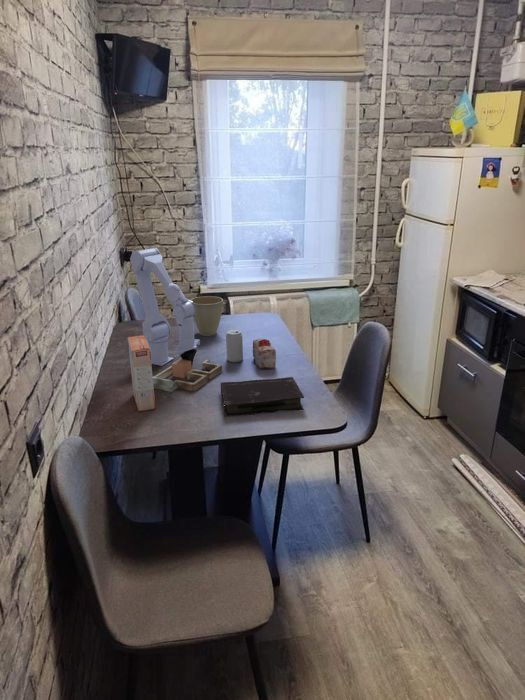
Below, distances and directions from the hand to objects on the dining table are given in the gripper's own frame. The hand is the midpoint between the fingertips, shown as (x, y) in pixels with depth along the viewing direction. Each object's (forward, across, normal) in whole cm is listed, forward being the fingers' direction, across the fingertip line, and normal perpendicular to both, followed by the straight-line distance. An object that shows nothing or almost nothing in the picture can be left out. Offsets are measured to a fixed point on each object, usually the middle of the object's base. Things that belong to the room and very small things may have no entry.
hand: (188, 368), depth 185 cm
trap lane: (+1, -6, -3) cm, 7 cm away
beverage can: (+1, +16, -11) cm, 20 cm away
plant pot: (+1, +40, +16) cm, 43 cm away
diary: (+2, -12, -36) cm, 38 cm away
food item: (+1, +18, -23) cm, 29 cm away
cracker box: (+1, -28, -1) cm, 28 cm away
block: (+1, -4, 0) cm, 4 cm away
